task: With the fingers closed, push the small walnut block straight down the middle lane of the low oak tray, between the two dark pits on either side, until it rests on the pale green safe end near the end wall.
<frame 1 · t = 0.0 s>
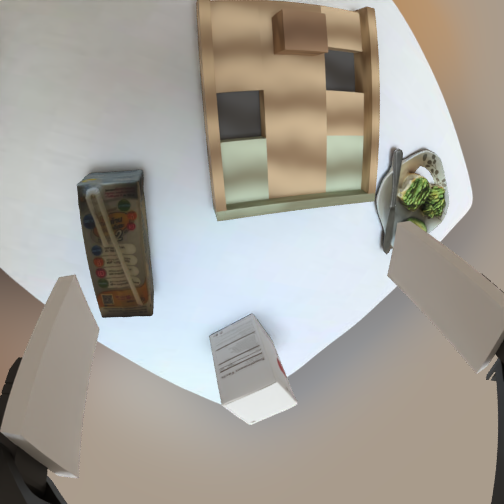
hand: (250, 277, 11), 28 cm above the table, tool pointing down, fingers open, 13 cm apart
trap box: (289, 104, 34), on the table
supplement box: (241, 337, 52), on the table
block: (293, 36, 28), point 2 cm above the table, touching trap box
salad plate: (410, 201, 46), on the table
beverage carton: (122, 236, 38), on the table
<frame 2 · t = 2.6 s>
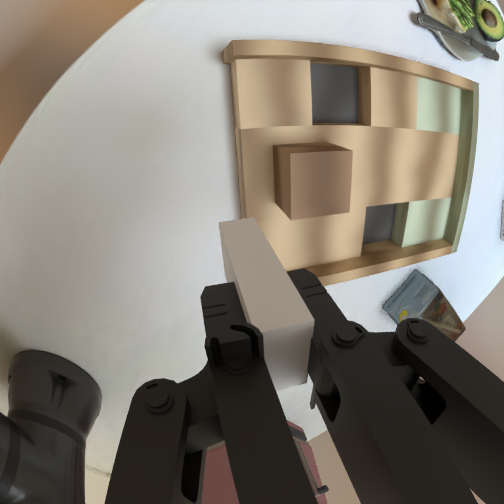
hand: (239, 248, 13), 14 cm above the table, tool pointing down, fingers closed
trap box: (371, 161, 28), on the table
toaster: (226, 447, 51), on the table
block: (301, 171, 24), point 2 cm above the table, touching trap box
salad plate: (453, 5, 20), on the table
beverage carton: (418, 307, 43), on the table
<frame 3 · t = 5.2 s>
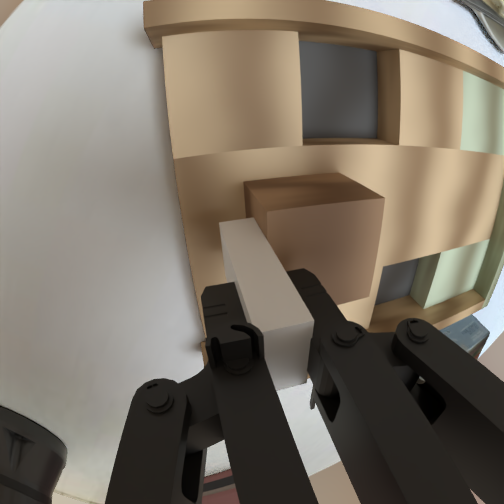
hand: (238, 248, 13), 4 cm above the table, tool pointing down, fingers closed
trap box: (392, 194, 19), on the table
toaster: (210, 490, 42), on the table
block: (294, 222, 15), point 3 cm above the table, touching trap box
beverage carton: (427, 359, 34), on the table
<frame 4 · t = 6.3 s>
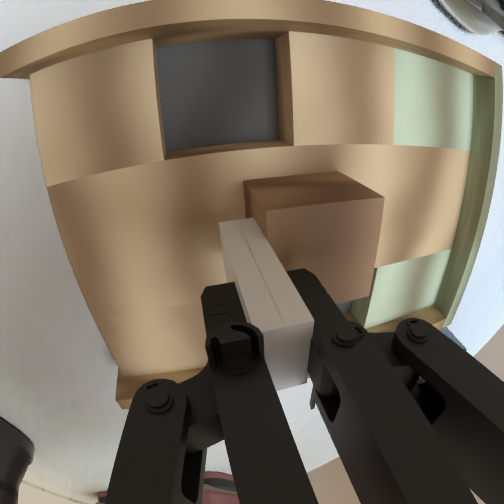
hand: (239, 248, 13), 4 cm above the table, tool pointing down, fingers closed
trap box: (310, 202, 18), on the table
toaster: (178, 492, 41), on the table
block: (294, 221, 15), point 3 cm above the table
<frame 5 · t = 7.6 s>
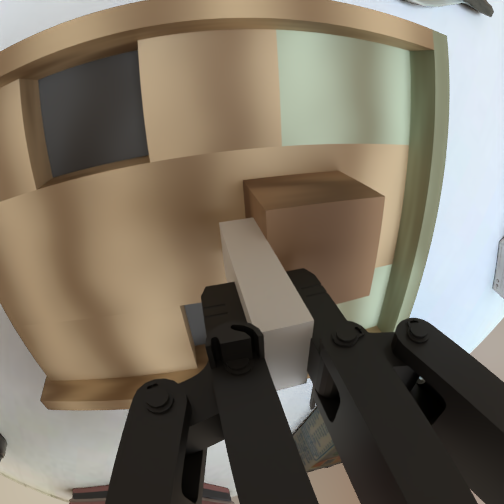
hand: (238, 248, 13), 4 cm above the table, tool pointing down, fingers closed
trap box: (201, 216, 17), on the table
toaster: (147, 493, 40), on the table
block: (294, 221, 15), point 2 cm above the table, touching gripper, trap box
beverage carton: (346, 393, 31), on the table
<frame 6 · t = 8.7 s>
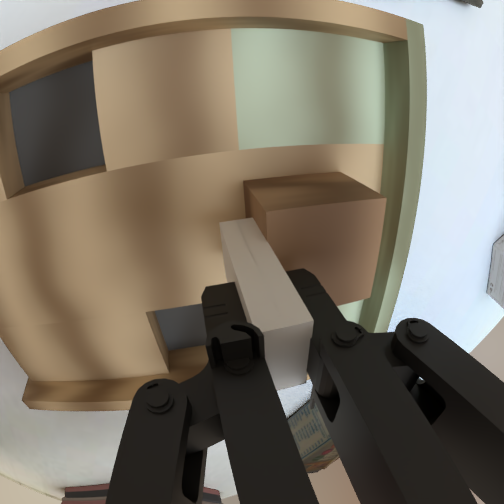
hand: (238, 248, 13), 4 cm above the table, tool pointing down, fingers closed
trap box: (166, 223, 16), on the table
toaster: (139, 494, 40), on the table
block: (294, 222, 15), point 2 cm above the table, touching gripper, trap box
beverage carton: (330, 398, 31), on the table
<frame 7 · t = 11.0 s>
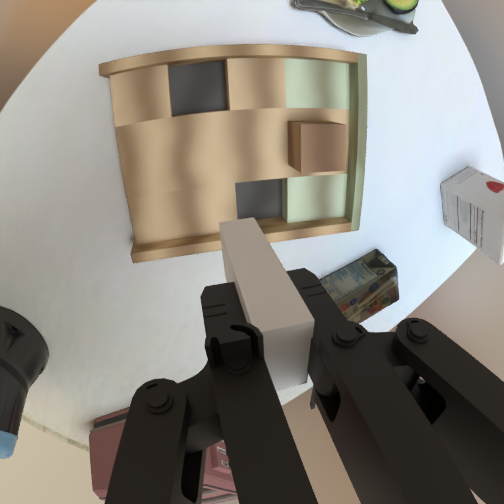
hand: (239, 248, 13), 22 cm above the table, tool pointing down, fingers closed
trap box: (246, 142, 32), on the table
supplement box: (456, 194, 43), on the table
toaster: (167, 419, 56), on the table
block: (308, 142, 31), point 2 cm above the table, touching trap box
beverage carton: (331, 290, 47), on the table
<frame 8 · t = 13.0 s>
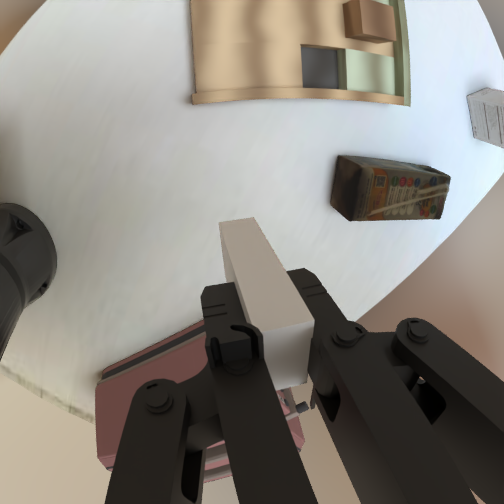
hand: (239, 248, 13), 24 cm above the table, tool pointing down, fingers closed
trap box: (305, 20, 28), on the table
supplement box: (480, 111, 39), on the table
toaster: (193, 366, 52), on the table
block: (360, 23, 27), point 2 cm above the table, touching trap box
beverage carton: (383, 182, 42), on the table
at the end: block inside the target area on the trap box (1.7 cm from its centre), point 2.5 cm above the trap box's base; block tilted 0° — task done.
